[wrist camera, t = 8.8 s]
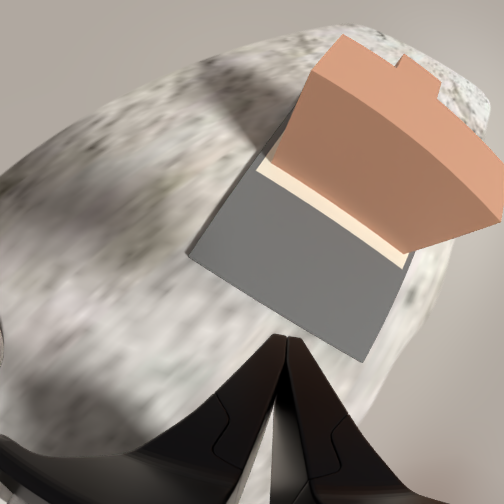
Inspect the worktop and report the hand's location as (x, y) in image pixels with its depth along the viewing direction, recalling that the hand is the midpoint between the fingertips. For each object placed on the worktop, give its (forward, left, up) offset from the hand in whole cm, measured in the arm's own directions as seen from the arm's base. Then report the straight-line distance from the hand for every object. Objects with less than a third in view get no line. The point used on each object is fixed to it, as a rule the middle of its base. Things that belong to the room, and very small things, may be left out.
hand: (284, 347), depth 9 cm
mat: (+11, -8, -11) cm, 18 cm away
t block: (+14, -10, -11) cm, 21 cm away
